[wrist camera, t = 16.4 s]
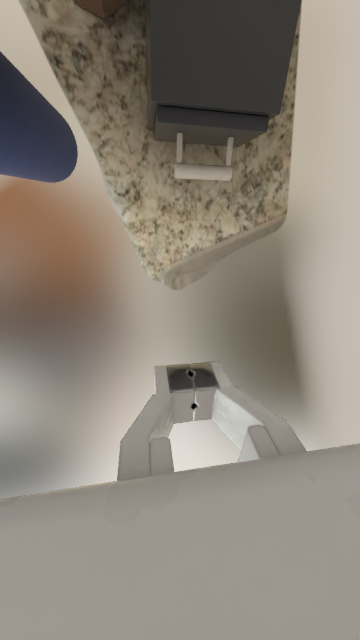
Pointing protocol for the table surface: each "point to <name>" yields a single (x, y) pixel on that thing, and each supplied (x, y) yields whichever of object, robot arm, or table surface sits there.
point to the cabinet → (219, 54)
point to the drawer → (206, 136)
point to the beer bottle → (101, 6)
